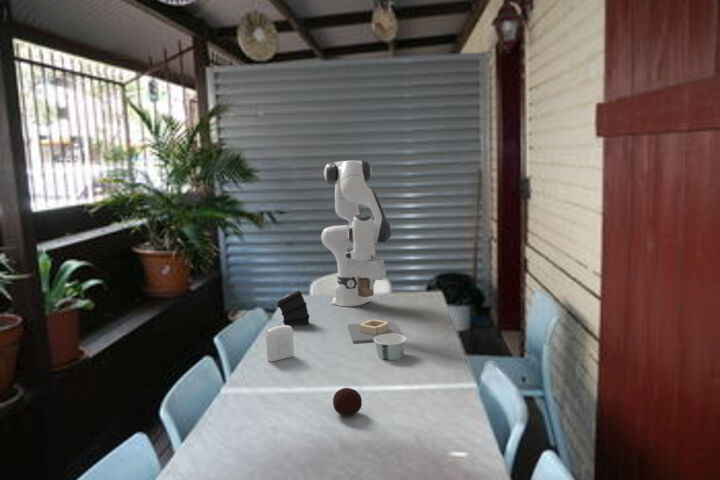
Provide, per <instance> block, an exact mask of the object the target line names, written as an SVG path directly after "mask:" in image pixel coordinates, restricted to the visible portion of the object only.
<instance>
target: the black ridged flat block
mask: <svg viewBox="0 0 720 480" xmlns="http://www.w3.org/2000/svg"><path fill="white" fill-rule="evenodd" d="M302 294H303V293H302V292H301V291H300V290H297V291H295V292H293V293H291V294H289V295H288V296H286V297H284V298H282V299H280V300H278V301H277V302H276V304H277V307H278V308H279V309H280V311H281V316H282V317H283V320H282V323H283V325H288V326H291V327H292V326H309V324H310V314H309V312H308V311H309V310H308V307H307V302H306V301H305V297H304V296H303V295H302Z"/></svg>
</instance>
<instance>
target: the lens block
mask: <svg viewBox="0 0 720 480" xmlns="http://www.w3.org/2000/svg"><path fill="white" fill-rule="evenodd" d="M357 282H358V296H361V297H366V298H369V297H373V296H374V288H373V289H368V285H370V282H371V281H370V279H368V278H363V277H362V278H360V279H357Z"/></svg>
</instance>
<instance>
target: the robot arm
mask: <svg viewBox="0 0 720 480" xmlns="http://www.w3.org/2000/svg"><path fill="white" fill-rule="evenodd" d="M323 177H324V179H325V182H326V183H327V184H328V185H332V186H334V204H335V205H334V206H335V209H334V210H335V214H336V215H337V216H338V217H340V218H341V219H344V220H346V221H348V224H345V225H344V224H343V225H332V226H327V227H324V229H323V230H322V232H321V235H320V238H321V243H322V245H323V246H324V247H325V248H327V250H330V252H331V253H332V254H333V256H334V258H335V260H336V264H337V278H336V279H337V281H336V282H337V285H336V286H335V287H334V289H333V294H334V296H333V298H332V300H331V305H335V306H341V307H356V306H361V305H364V304H366V303H370V299H369V298H368V297H361V296H358V282H357V279H360V278H368V279H370V281H371V282H370V285H368V289H373V290H374V289H375V288H374V287H375V283H376V281H383V280H385V279H386V276H387V273H386V272H387V271H386V267H385V266H386V265H385V260H384V259H383V258H382V257H381V256H376V245H375V244H385V243H387V242H388V241H389V240H390V239H391V237H392V227H391V225H390V222H389V220H388V219H387V217H386V215H385V212H384V210H383V207H382V204H381V203H380V200H379V198H378V196H377V193H376V192H375V190H373V189H371V188H370V187H369V186H368V185H367V183H368V182H369V181H371V180H370V179H371V177H372V167H371V164H370V163H369V162H368V161H367V160H361V159H360V160H341V161H332V162H328V163H326V165H325V167H324V170H323ZM359 205H362V206H365V207H367V208H369V209H370V211H371V213H372V215H370V214H366V213H360V210H359ZM348 248H352V250H351V251H348Z"/></svg>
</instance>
